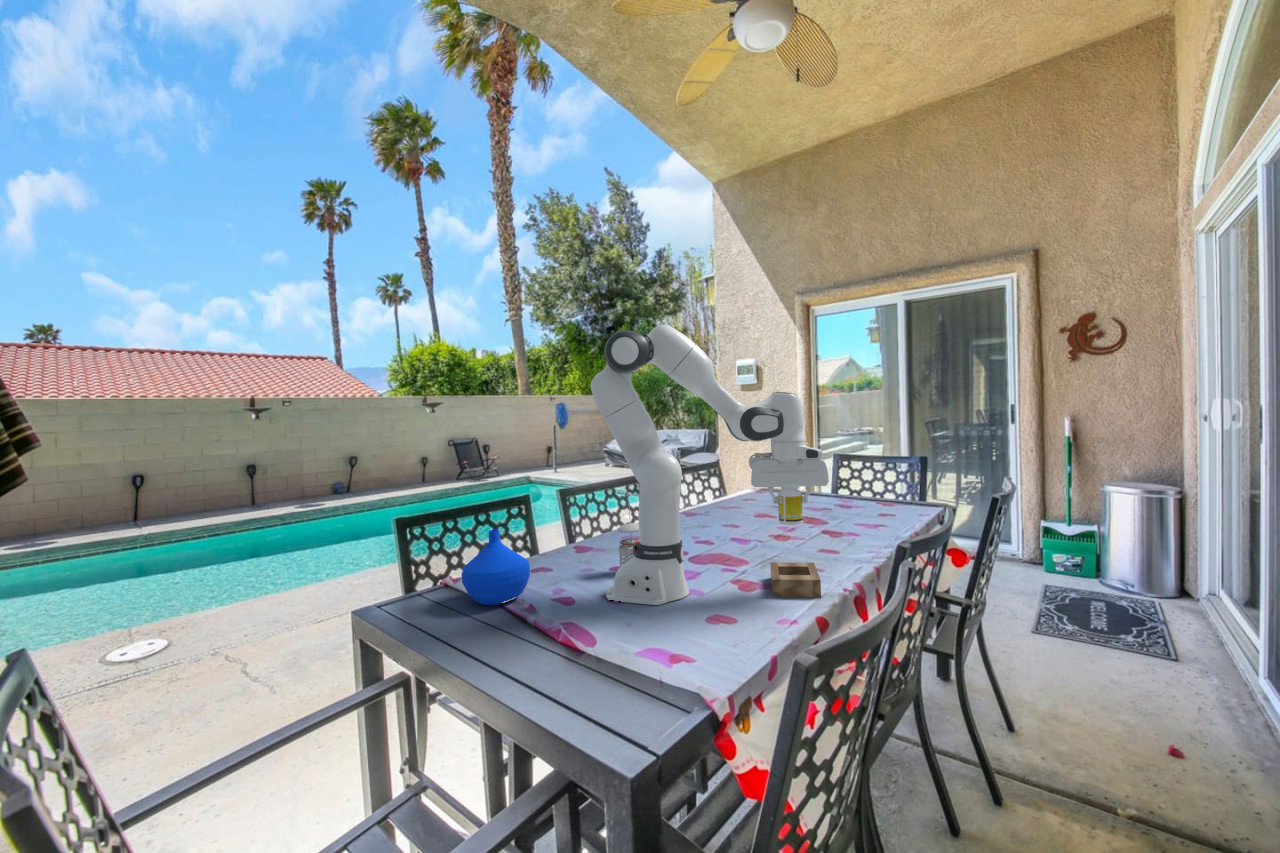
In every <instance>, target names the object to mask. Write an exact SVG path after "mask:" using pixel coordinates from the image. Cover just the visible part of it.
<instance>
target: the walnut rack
mask: <svg viewBox="0 0 1280 853" xmlns="http://www.w3.org/2000/svg"><path fill="white" fill-rule="evenodd" d="M769 564H770V581H771V582H770V583H771V592H772V597H773V598H775V597H776V598H819V597H821V598H822V585H821V583H822V582H821V578H820V575H819V572H818V570H817V567H816V565H815V562H798V561H797V562H789V561H788V562H777V561H776V562H775V561H773V562H770V563H769Z"/></svg>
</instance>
